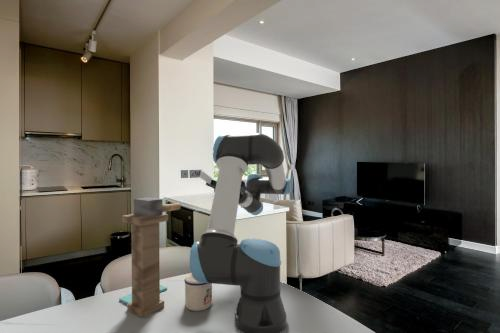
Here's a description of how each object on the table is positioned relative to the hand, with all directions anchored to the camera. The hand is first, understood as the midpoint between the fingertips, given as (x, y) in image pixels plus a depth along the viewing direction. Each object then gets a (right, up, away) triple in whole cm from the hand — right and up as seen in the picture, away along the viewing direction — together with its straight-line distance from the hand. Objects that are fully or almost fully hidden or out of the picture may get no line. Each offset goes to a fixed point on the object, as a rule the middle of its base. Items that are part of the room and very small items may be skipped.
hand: (213, 174), depth 120 cm
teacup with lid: (-2, -42, -21) cm, 47 cm away
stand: (-18, -42, -25) cm, 52 cm away
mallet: (-15, -12, -21) cm, 28 cm away
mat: (-23, -42, -15) cm, 50 cm away
